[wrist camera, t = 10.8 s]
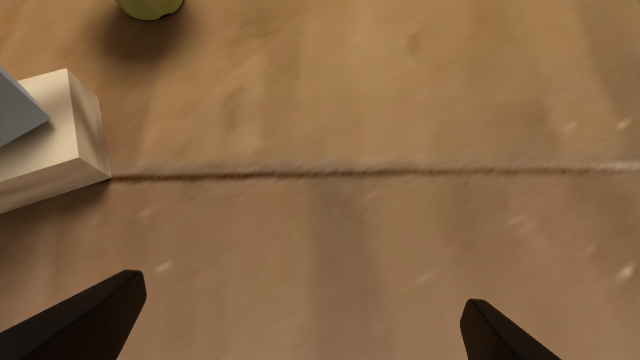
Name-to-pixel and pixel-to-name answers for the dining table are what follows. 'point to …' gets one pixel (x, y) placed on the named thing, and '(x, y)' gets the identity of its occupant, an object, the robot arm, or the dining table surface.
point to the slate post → (17, 109)
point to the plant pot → (149, 8)
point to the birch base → (55, 144)
